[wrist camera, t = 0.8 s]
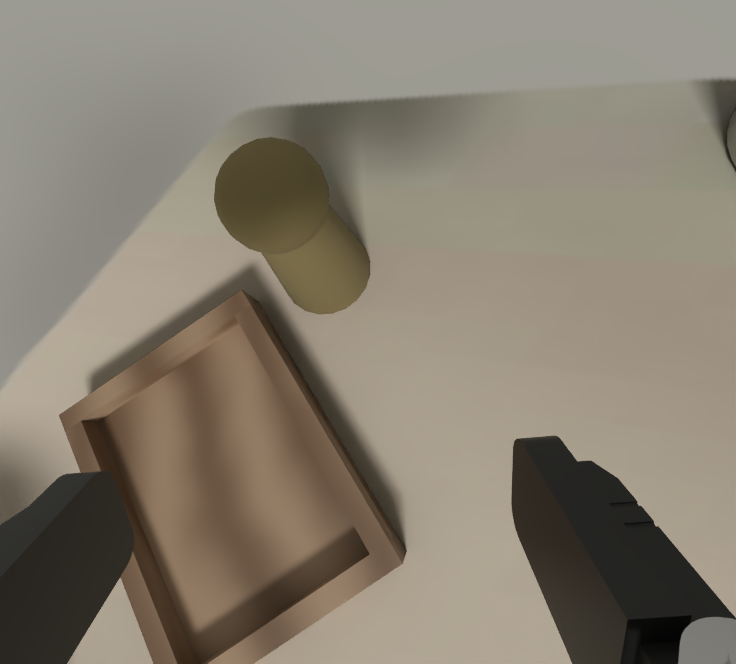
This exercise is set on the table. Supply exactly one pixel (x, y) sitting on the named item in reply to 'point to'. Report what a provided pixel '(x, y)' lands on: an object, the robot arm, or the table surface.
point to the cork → (291, 223)
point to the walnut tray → (230, 492)
